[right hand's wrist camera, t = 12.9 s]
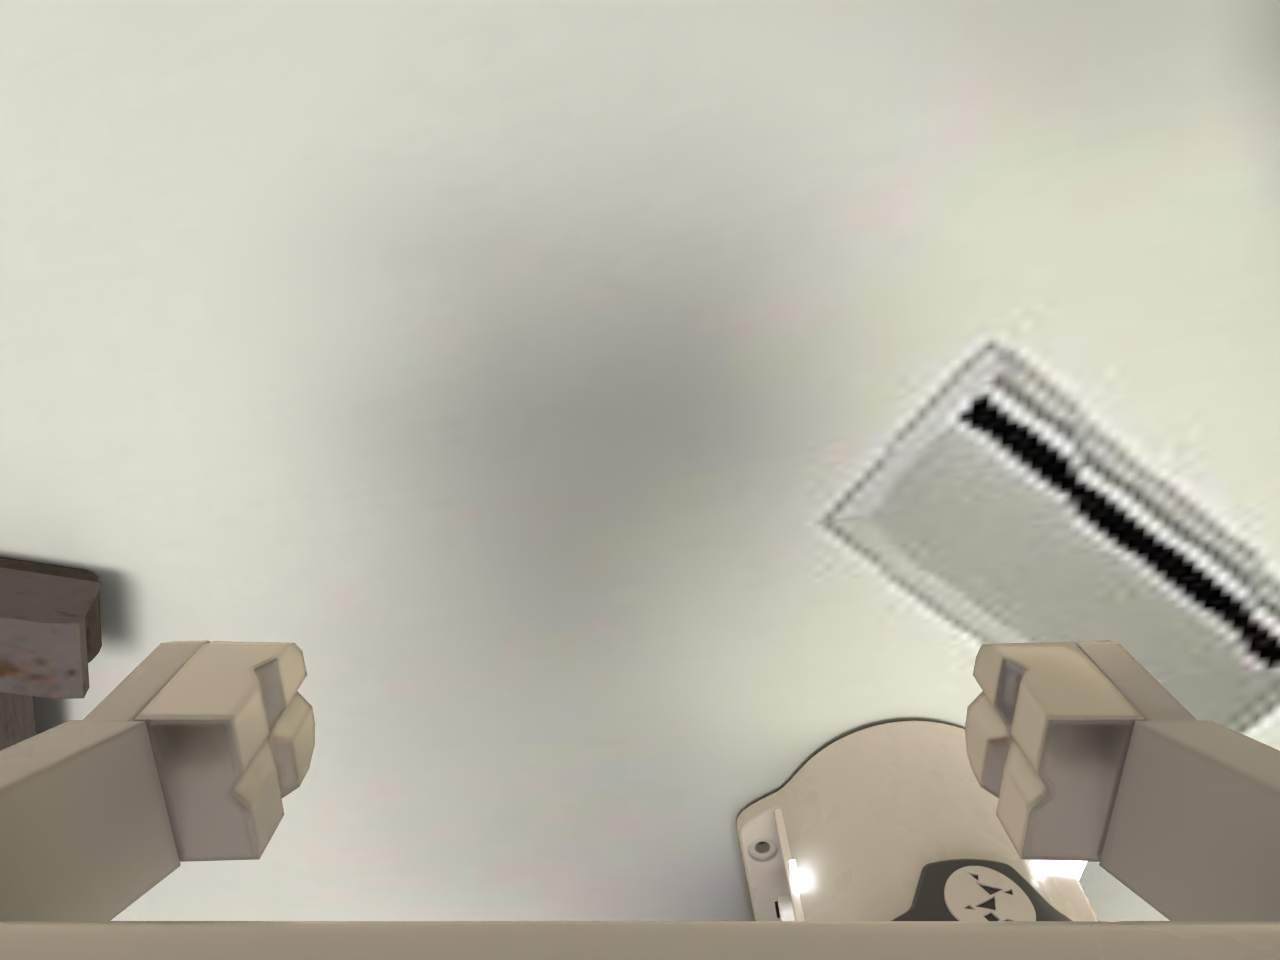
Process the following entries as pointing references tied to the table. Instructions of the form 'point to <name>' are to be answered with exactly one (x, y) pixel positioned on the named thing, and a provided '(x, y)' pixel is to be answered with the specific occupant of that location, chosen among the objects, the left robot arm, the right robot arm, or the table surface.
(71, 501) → the table surface
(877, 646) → the table surface
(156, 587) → the table surface
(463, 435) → the table surface
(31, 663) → the toy
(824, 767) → the right robot arm
